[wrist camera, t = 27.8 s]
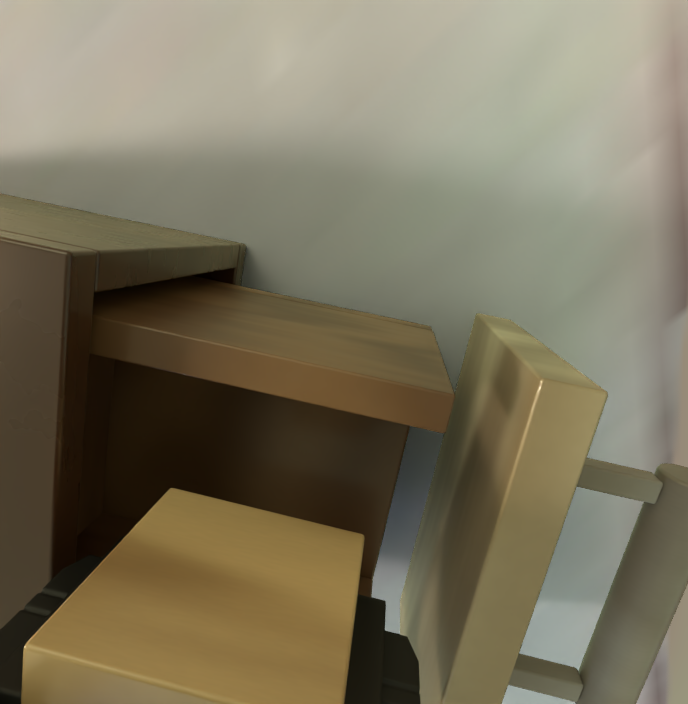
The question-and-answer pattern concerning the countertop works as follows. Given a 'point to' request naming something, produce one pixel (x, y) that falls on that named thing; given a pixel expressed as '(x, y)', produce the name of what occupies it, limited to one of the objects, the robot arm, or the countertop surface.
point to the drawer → (383, 466)
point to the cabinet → (64, 363)
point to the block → (205, 613)
